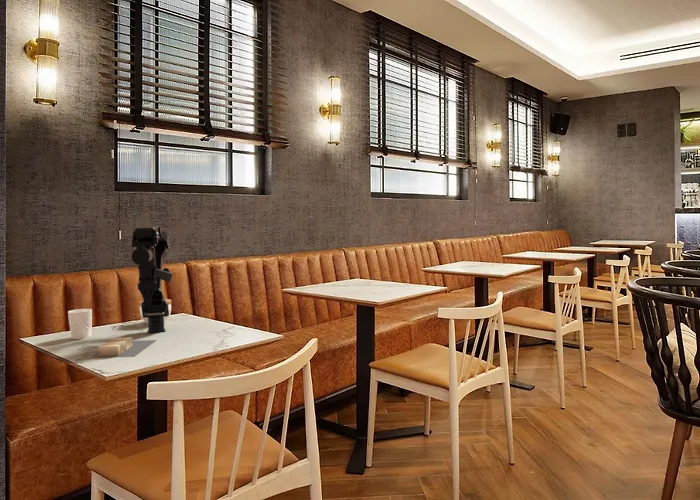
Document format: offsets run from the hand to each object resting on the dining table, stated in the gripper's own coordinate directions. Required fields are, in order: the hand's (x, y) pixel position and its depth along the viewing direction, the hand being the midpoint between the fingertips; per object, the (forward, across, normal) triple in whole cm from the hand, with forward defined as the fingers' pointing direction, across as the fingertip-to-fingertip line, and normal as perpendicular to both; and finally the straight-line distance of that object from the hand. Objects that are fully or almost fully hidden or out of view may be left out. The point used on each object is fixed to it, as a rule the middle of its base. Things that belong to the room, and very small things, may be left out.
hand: (149, 306), depth 191 cm
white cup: (+12, +16, +24) cm, 31 cm away
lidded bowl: (+12, +32, -2) cm, 34 cm away
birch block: (+10, -10, +8) cm, 16 cm away
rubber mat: (+12, -12, +8) cm, 19 cm away
